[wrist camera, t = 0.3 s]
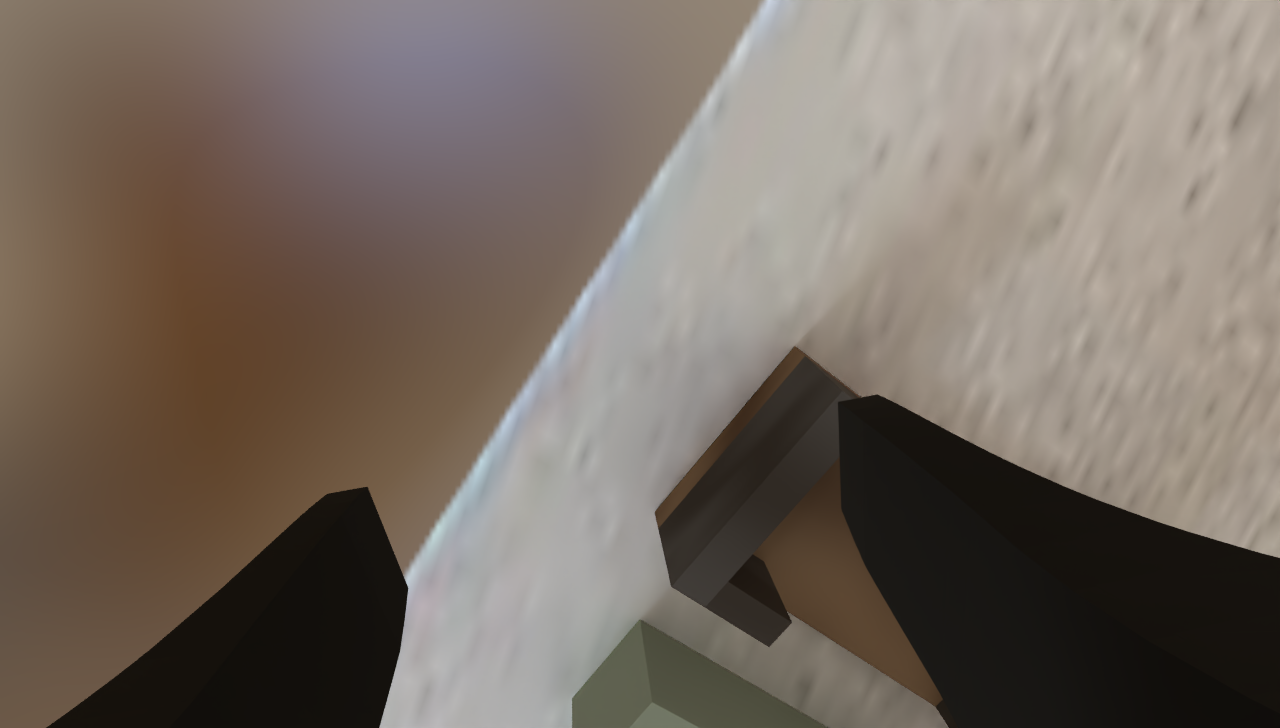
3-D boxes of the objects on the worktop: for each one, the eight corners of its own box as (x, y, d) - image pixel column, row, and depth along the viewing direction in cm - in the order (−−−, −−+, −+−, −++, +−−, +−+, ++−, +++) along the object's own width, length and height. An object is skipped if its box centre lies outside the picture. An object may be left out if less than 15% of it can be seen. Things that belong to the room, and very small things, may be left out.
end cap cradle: (985, 727, 27) (1052, 822, 24) (654, 512, 23) (671, 586, 19) (1120, 599, 26) (1214, 678, 22) (795, 346, 22) (842, 390, 18)
